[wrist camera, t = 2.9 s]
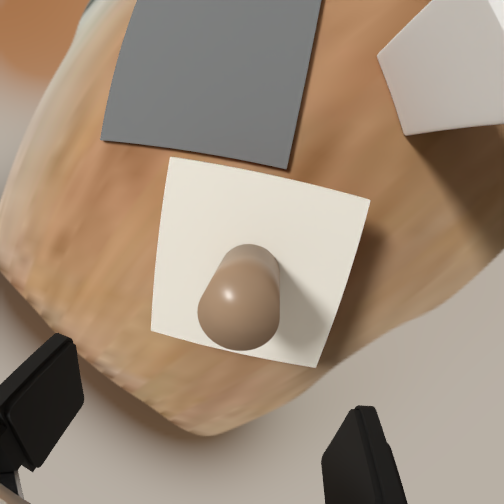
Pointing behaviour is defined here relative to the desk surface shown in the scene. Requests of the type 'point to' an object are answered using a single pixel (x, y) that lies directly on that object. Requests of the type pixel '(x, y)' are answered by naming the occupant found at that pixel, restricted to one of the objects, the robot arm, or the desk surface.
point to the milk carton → (448, 66)
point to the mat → (213, 77)
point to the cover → (252, 260)
